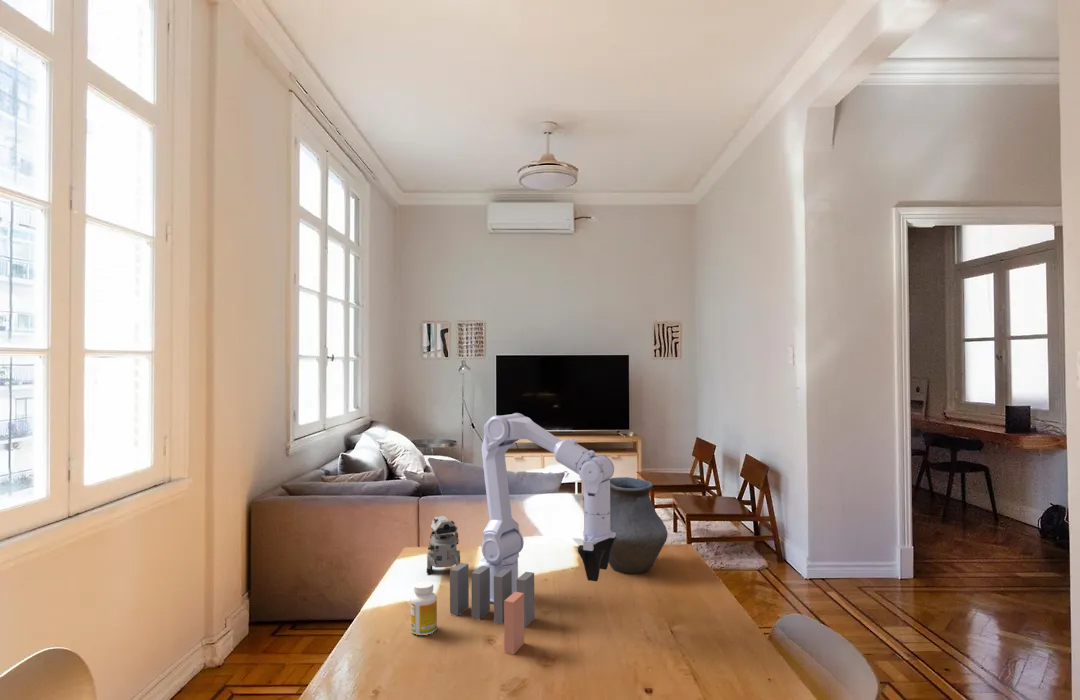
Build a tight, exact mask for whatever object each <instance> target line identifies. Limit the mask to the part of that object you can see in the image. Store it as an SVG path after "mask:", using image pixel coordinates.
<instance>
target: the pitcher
mask: <svg viewBox="0 0 1080 700" xmlns="http://www.w3.org/2000/svg"><path fill="white" fill-rule="evenodd" d="M609 480H610V530H611V532H614V533H616V539H615V541H614V543H613V546H612V549H611V552H610V557H609V563H608V565H610V567H611V568H612V570H613V571H615V572H619V573H622V574H635V573H639V574H643V573H647V572H649V571H650V570H651V569H652V568H653V567H654V564H655V562H656V560H657V559H658V556H659V555H660V552H662V549H663V548H664V546H665V543H666V542H667V540H668V534H669V533H668V529H667V527H666V525H665V523H664V521H663V519H662V518H661V517H660V516H659V514H658V513H657V511H656V510H655V508H654V505H653V503H652V500H651V497H650V492H651V490H652V488H653V487H654V484H653V482H651V481H648V480H645V479H640V478H635V477H627V476H626V477H625V476H624V477H623V476H622V477H619V476H618V477H611V478H610V479H609ZM604 482H605V481H604Z"/></svg>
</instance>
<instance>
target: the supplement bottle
mask: <svg viewBox="0 0 1080 700" xmlns="http://www.w3.org/2000/svg"><path fill="white" fill-rule="evenodd" d="M413 591H414V594H412V596H411V598H410V632H411V631H412V632H413V633H415V634H419V635H424V634H430V633H432V634H434V633H435V632H436V631H437V629H438V622H437V621H438V617H437V615H438V613H437V612H438V611H437V609H438V606H437V605H438V604H437V601H438V600H437V594H436V593H435V592H434V583H433V582H432V581H427V580H425V581H418V582H416V583H415V584H414V585H413ZM435 630H436V631H435ZM434 631H435V632H434ZM412 632H411V633H412ZM433 632H434V633H433ZM430 635H431V634H430Z"/></svg>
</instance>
